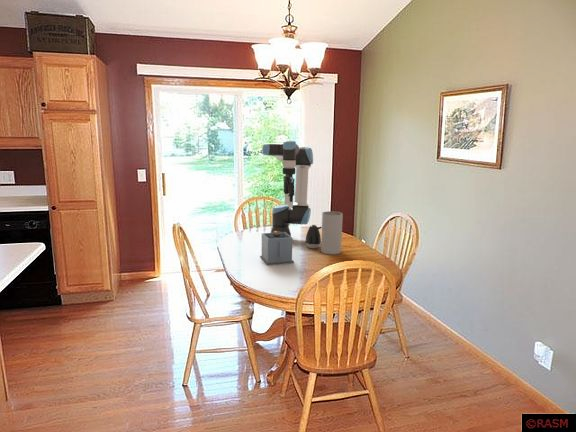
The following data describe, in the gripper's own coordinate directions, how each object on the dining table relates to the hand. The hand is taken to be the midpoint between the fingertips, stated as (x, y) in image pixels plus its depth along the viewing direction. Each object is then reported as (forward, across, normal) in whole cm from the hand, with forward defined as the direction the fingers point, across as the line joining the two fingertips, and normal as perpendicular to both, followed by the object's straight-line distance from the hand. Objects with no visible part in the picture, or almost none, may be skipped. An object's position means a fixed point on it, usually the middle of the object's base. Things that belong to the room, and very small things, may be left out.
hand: (288, 205), depth 247 cm
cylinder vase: (+31, +2, +28) cm, 42 cm away
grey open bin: (+30, +10, -10) cm, 33 cm away
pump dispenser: (+31, -10, +20) cm, 39 cm away
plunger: (+26, +10, -10) cm, 30 cm away
